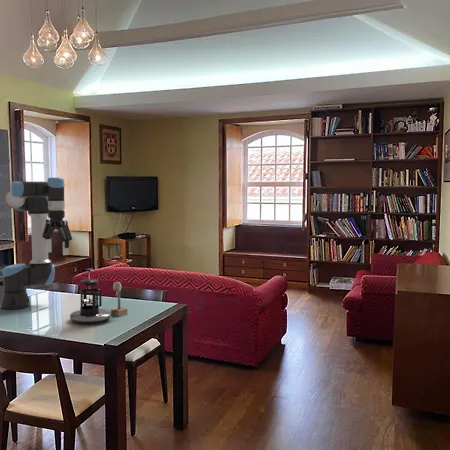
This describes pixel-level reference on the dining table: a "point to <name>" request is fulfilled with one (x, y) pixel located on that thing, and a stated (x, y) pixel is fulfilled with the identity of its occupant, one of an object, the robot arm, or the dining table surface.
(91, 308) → the french press
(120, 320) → the dining table surface
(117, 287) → the dial gauge stand
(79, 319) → the disc
